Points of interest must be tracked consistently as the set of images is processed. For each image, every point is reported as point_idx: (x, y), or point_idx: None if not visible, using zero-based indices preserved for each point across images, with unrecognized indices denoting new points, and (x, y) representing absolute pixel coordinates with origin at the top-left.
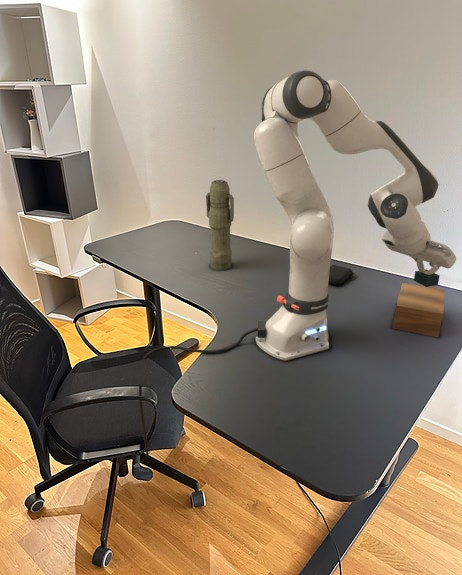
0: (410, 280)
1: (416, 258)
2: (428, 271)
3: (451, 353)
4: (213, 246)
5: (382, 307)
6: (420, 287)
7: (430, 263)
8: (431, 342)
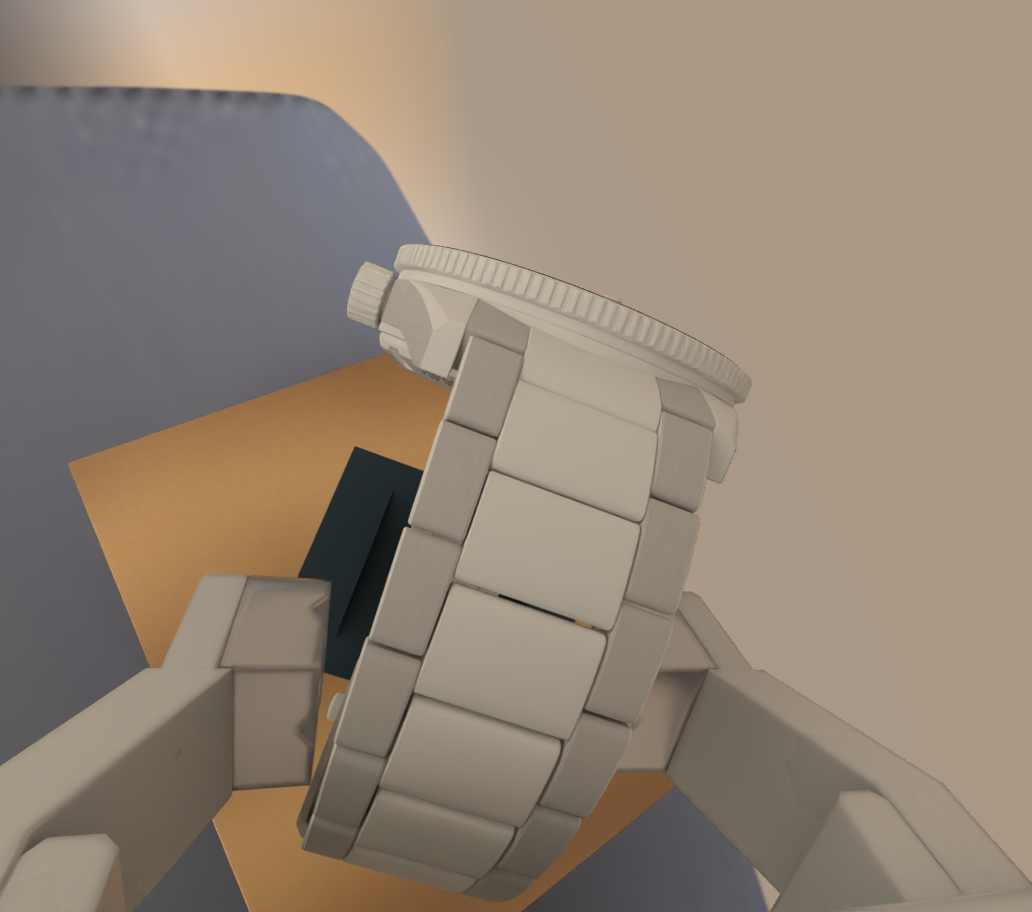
0: (20, 111)
1: (241, 766)
2: (436, 535)
3: (740, 859)
4: None
5: (56, 690)
6: (276, 435)
7: (637, 754)
8: (607, 852)
